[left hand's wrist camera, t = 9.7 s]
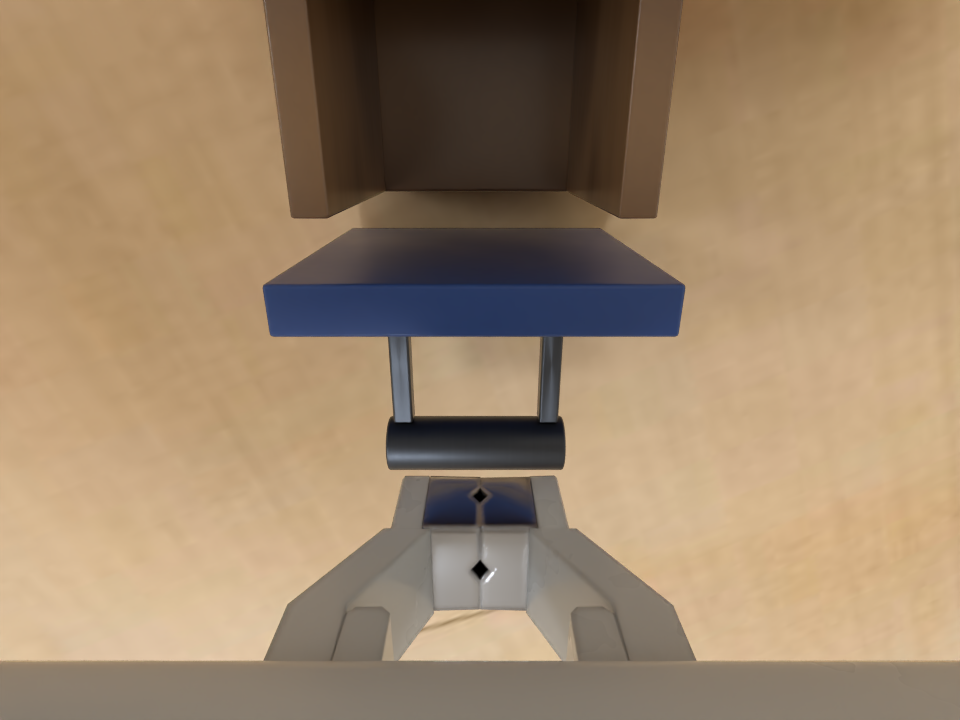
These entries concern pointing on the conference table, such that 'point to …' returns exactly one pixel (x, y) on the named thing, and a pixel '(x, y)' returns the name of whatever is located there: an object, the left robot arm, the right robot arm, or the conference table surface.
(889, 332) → the conference table surface
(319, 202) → the drawer
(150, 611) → the conference table surface
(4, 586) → the conference table surface
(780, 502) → the conference table surface
